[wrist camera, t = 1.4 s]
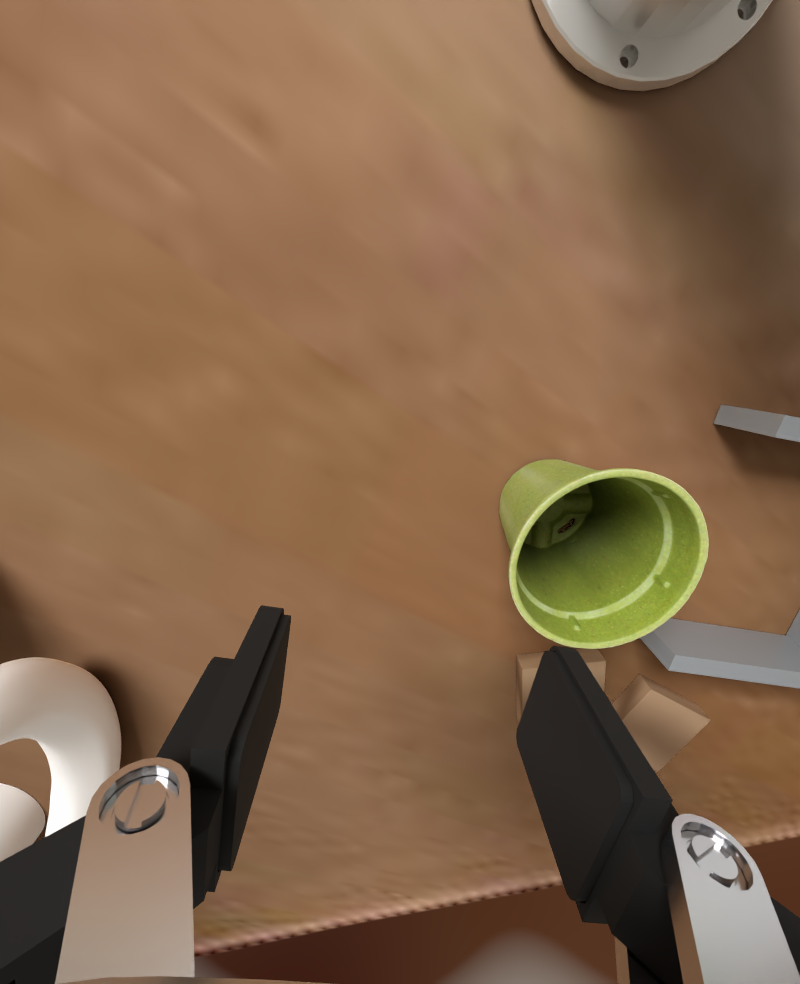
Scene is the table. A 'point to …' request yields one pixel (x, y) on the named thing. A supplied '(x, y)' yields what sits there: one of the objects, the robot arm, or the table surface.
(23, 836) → the cylindrical container
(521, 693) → the tile
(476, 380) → the table surface
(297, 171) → the table surface
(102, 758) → the white curved piece
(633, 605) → the plant pot
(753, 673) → the u-shaped fence
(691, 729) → the tile
